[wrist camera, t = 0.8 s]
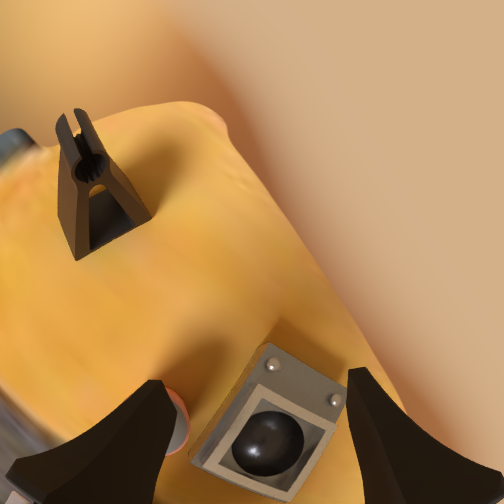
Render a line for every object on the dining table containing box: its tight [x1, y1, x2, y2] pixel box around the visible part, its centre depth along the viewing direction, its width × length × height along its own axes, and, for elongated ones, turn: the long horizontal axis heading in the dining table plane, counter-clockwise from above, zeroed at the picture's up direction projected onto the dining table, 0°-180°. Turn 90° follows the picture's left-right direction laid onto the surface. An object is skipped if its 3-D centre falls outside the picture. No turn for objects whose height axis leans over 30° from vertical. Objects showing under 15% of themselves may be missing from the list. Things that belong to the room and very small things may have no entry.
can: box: [128, 387, 190, 456], centre depth 17 cm, size 5×5×7 cm
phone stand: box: [55, 109, 152, 261], centre depth 20 cm, size 9×6×12 cm, turn 128°
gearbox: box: [188, 342, 347, 503], centre depth 19 cm, size 12×9×4 cm
